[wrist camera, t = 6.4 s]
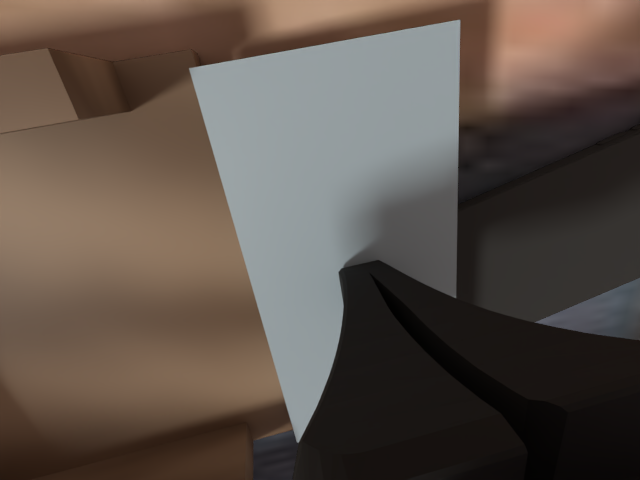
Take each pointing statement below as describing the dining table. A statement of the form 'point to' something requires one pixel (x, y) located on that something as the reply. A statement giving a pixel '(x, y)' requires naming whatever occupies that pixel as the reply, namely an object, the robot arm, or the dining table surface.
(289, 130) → the cabinet door
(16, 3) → the dining table surface
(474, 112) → the dining table surface
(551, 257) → the phone
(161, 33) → the dining table surface
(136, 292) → the brown shallow open box
